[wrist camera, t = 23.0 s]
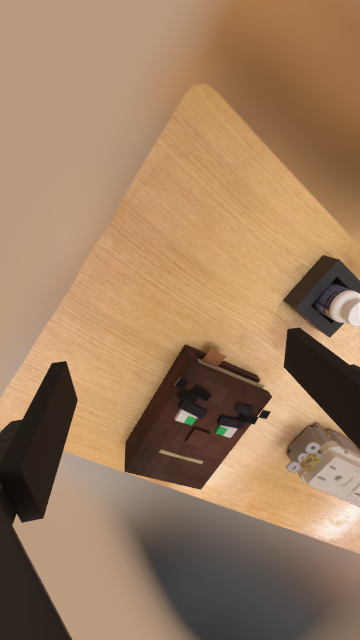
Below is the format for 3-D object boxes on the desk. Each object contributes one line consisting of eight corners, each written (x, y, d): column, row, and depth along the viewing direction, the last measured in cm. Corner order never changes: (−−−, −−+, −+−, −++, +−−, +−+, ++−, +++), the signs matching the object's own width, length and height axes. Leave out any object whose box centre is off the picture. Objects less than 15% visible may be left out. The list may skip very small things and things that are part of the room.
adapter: (282, 300, 48) (294, 308, 44) (323, 255, 46) (339, 259, 42) (316, 328, 52) (329, 337, 48) (355, 287, 49) (372, 294, 46)
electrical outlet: (344, 479, 72) (372, 518, 62) (264, 442, 64) (283, 481, 55) (376, 449, 69) (411, 486, 59) (296, 407, 61) (322, 442, 52)
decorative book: (112, 483, 49) (194, 352, 40) (115, 448, 56) (185, 331, 47) (200, 502, 55) (287, 391, 47) (193, 469, 62) (267, 367, 53)
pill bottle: (300, 301, 49) (337, 322, 40) (317, 274, 47) (360, 290, 38) (321, 312, 50) (361, 335, 41) (339, 287, 49) (384, 305, 40)
